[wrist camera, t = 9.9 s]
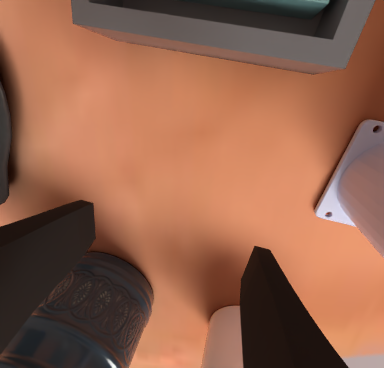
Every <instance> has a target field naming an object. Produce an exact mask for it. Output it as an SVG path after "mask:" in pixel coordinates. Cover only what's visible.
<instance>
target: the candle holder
mask: <svg viewBox="0 0 384 368" xmlns="http://www.w3.org/2000/svg"><path fill="white" fill-rule="evenodd" d="M201 368H243V355H242V338H241V320H240V306H238V305H235V306H227V307H223V308H221V309H219V310H217V311H216V312H214V314H213V315H212V316H211V319H210V322H209V326H208V332H207V337H206V342H205V348H204V354H203V359H202V365H201Z"/></svg>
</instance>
